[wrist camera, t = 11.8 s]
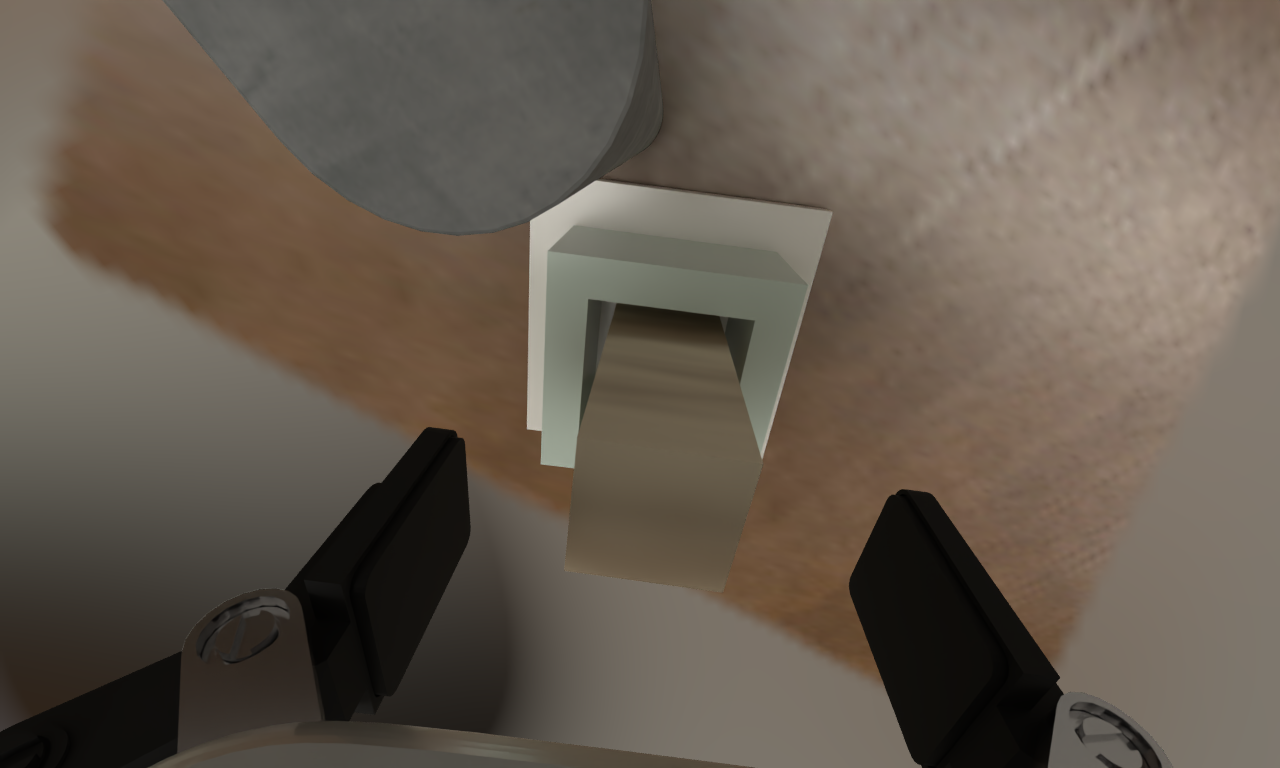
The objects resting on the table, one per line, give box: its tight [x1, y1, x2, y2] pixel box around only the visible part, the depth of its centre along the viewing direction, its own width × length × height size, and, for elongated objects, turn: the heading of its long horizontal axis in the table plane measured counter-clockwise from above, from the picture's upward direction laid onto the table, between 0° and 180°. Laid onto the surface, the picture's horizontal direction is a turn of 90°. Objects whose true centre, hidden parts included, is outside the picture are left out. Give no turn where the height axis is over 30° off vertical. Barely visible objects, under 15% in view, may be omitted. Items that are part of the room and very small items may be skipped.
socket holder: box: [527, 179, 833, 468], centre depth 20 cm, size 12×12×6 cm
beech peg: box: [564, 303, 763, 592], centre depth 17 cm, size 4×4×12 cm
